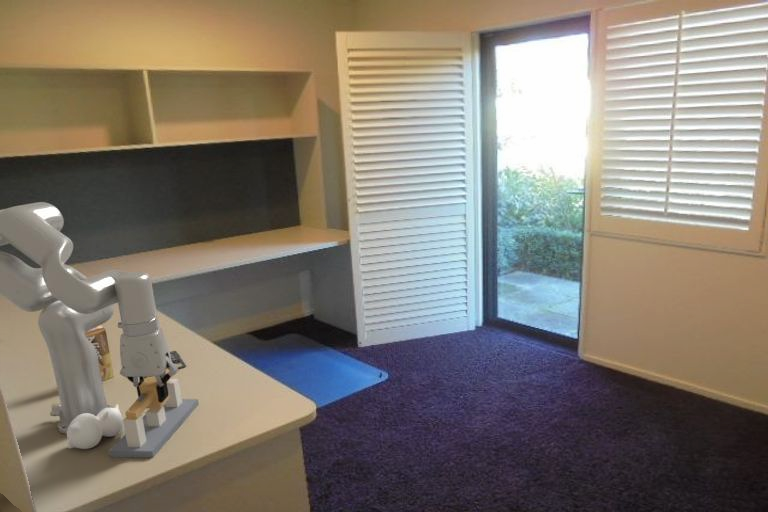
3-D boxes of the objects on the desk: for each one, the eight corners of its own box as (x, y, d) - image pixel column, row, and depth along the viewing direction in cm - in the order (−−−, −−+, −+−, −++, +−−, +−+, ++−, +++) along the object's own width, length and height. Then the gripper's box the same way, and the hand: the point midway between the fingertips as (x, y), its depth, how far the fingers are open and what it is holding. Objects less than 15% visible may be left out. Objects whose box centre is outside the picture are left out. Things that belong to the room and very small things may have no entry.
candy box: (109, 373, 164) (100, 324, 161) (115, 377, 161) (105, 327, 158) (77, 384, 158) (67, 334, 154) (82, 388, 155) (72, 337, 152)
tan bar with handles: (126, 430, 122) (120, 407, 120) (168, 379, 141) (163, 359, 139) (143, 430, 122) (137, 407, 120) (183, 379, 140) (178, 358, 138)
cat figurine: (116, 392, 131) (62, 412, 122) (138, 426, 126) (83, 449, 117) (112, 415, 135) (59, 436, 126) (132, 448, 131) (79, 473, 122)
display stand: (110, 456, 121) (103, 424, 119) (161, 404, 144) (157, 376, 142) (153, 457, 120) (147, 424, 118) (198, 404, 142) (194, 375, 140)
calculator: (175, 349, 178) (186, 365, 165) (175, 352, 178) (186, 368, 165) (136, 359, 172) (144, 376, 159) (137, 362, 172) (145, 379, 160)
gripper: (96, 333, 123) (111, 408, 127) (167, 331, 121) (180, 407, 125) (116, 321, 130) (129, 392, 135) (183, 319, 128) (195, 391, 133)
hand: (154, 399), depth 130 cm, fingers closed on tan bar with handles, 4 cm apart
